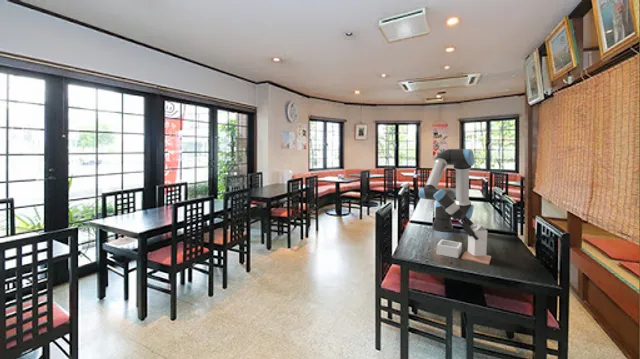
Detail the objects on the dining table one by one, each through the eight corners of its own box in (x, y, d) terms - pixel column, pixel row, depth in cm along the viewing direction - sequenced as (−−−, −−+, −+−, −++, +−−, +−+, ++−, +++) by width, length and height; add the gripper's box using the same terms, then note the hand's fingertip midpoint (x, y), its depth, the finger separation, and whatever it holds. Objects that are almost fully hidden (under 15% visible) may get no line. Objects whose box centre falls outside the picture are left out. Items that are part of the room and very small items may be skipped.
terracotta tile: (464, 252, 177) (465, 251, 177) (491, 257, 169) (491, 256, 169) (461, 259, 167) (461, 257, 167) (489, 264, 159) (489, 262, 159)
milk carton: (479, 251, 171) (480, 220, 169) (486, 255, 164) (487, 223, 162) (467, 251, 171) (468, 220, 169) (474, 256, 164) (475, 224, 162)
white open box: (441, 248, 185) (441, 239, 184) (461, 252, 178) (461, 242, 177) (436, 253, 175) (436, 244, 175) (457, 258, 168) (458, 248, 168)
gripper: (453, 211, 183) (480, 239, 176) (446, 218, 165) (475, 250, 158) (463, 204, 179) (490, 232, 172) (456, 211, 161) (486, 243, 154)
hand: (483, 241), depth 165 cm, fingers closed on milk carton, 10 cm apart
